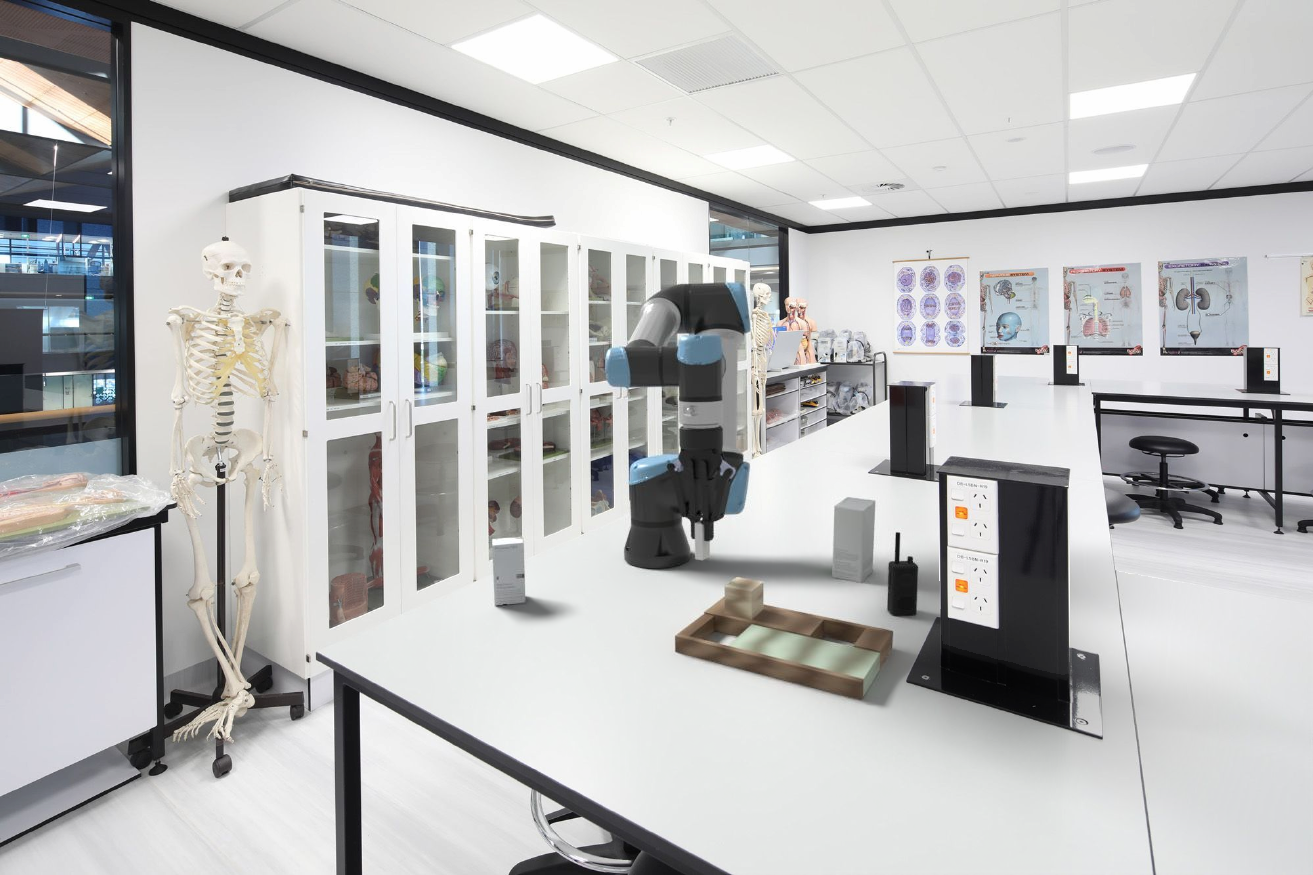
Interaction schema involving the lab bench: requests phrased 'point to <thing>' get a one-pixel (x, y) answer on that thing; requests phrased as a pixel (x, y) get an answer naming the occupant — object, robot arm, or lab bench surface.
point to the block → (744, 598)
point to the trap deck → (792, 647)
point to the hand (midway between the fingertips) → (702, 557)
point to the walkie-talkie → (902, 584)
